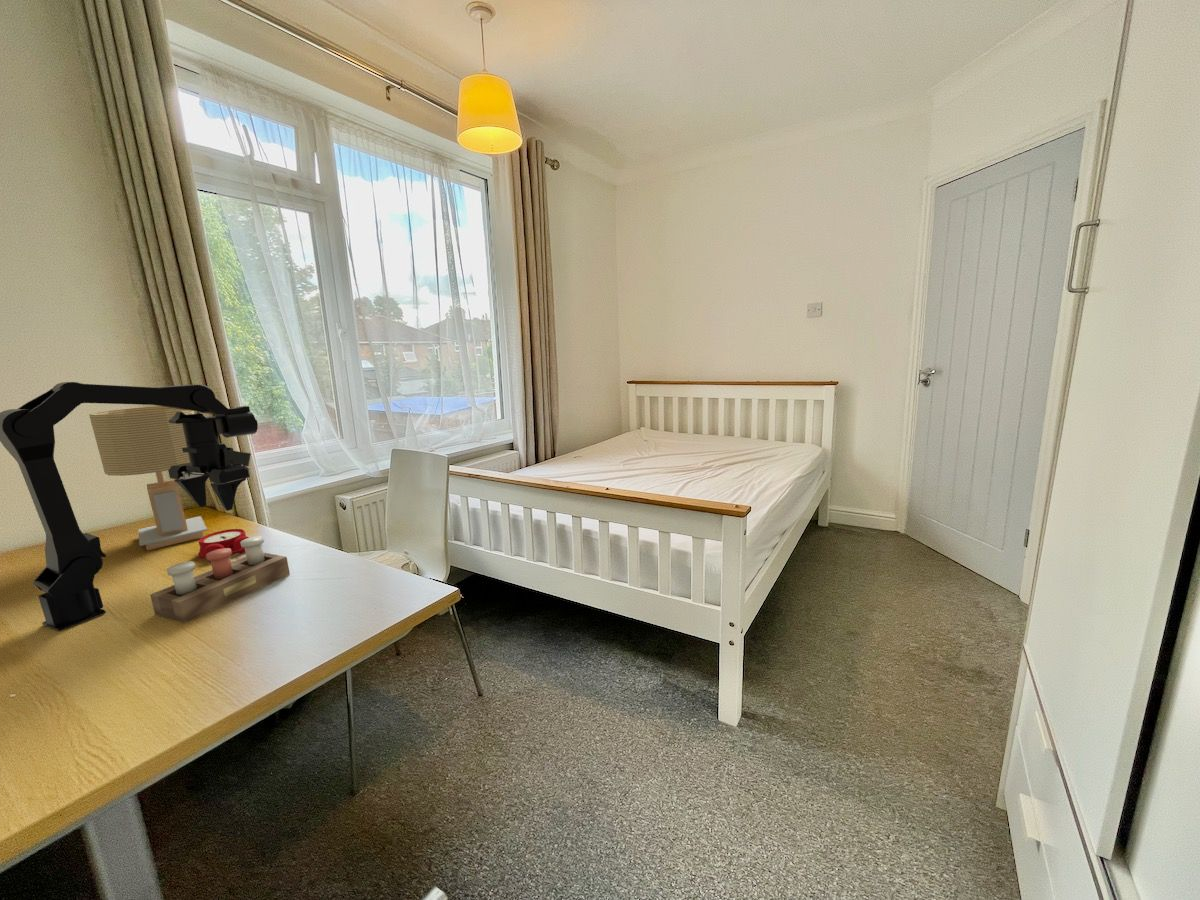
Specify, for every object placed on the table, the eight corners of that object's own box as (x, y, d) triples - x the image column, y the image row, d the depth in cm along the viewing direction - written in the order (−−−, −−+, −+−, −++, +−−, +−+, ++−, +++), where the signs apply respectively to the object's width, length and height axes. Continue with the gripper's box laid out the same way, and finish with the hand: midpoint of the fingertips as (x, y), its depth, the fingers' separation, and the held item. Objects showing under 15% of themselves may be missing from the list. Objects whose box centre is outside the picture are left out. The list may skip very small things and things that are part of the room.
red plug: (219, 581, 94) (213, 557, 93) (206, 578, 95) (201, 555, 94) (240, 572, 97) (235, 549, 96) (228, 569, 99) (223, 547, 98)
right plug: (253, 567, 100) (248, 544, 99) (240, 564, 101) (236, 542, 100) (271, 559, 103) (267, 537, 102) (259, 557, 105) (255, 535, 104)
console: (185, 623, 86) (179, 602, 86) (155, 614, 90) (149, 594, 89) (290, 574, 105) (287, 556, 104) (262, 568, 108) (258, 551, 107)
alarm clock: (241, 525, 127) (253, 525, 117) (246, 548, 127) (259, 549, 117) (191, 537, 119) (199, 538, 109) (197, 561, 120) (206, 565, 110)
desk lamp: (125, 538, 130) (91, 411, 123) (214, 519, 144) (189, 403, 136) (124, 559, 117) (86, 417, 109) (224, 535, 130) (196, 407, 123)
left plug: (180, 597, 88) (174, 572, 87) (168, 594, 89) (161, 569, 88) (205, 587, 92) (199, 563, 90) (192, 584, 93) (186, 560, 92)
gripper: (267, 436, 109) (278, 501, 112) (215, 434, 116) (227, 495, 119) (214, 445, 99) (228, 516, 102) (160, 442, 106) (175, 509, 109)
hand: (216, 508), depth 108 cm, fingers open, 9 cm apart
